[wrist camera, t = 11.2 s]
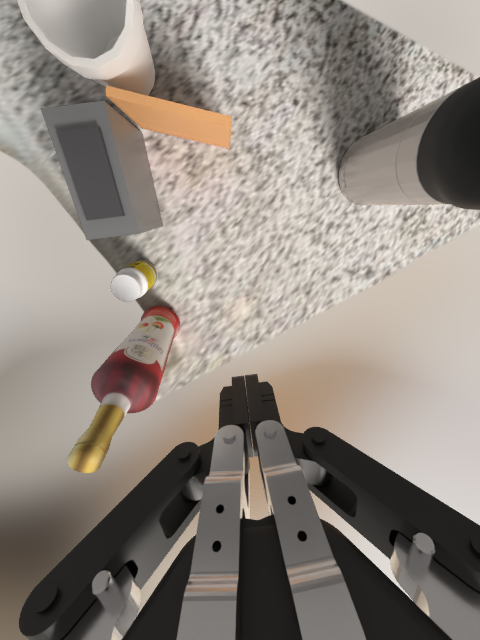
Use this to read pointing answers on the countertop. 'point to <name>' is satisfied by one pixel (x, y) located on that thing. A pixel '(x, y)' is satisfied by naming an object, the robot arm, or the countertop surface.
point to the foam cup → (96, 39)
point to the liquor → (126, 384)
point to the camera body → (104, 169)
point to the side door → (173, 117)
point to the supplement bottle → (134, 280)
